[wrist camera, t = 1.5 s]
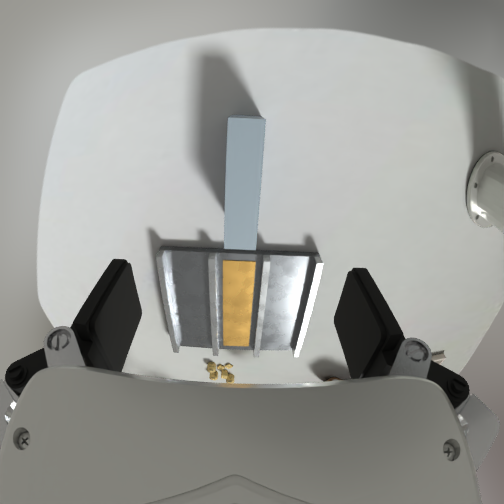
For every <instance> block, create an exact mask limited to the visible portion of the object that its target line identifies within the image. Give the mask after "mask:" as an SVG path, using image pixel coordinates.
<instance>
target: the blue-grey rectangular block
mask: <svg viewBox="0 0 504 504" xmlns="http://www.w3.org/2000/svg"><path fill="white" fill-rule="evenodd" d="M265 124H266V119H264V118H263V117H262V116H247V115H231V116H230V117H228V127H227V150H226V179H225V220H224V249H241V250H256V243H257V230H258V217H259V204H260V191H261V178H262V164H263V151H264V138H265Z"/></svg>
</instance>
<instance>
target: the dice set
mask: <svg viewBox="0 0 504 504" xmlns="http://www.w3.org/2000/svg"><path fill="white" fill-rule="evenodd" d="M225 367H226V368H228V369H230V368H232V367H233V365H231V364H229V363H228V364H227V365H225V366H223V365H221V364H220V365H219V366H218V367H217V368H218V369H220V370H222V369H224V368H225ZM215 369H216V364H215V363H213V362H209V363H208V366H207V370H208V371H209V372H210V377H209V378H210V379H211V380H217V379H218V372H217V371H215ZM221 378H224V379H226V382H227V383H234V375H232V374H228V372H227V370H222V373H221Z"/></svg>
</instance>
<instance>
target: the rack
mask: <svg viewBox="0 0 504 504" xmlns="http://www.w3.org/2000/svg"><path fill="white" fill-rule="evenodd" d="M156 262H157V269H158V275H159V282H160V288H161V293H162V299H163V304H164V310H165V315H166V320H167V325H168V330H169V334H170V339H171V343H172V348H173V352H176V353H178V352H179V347H180V346H189V347H201V348H213V355H214V356H218V350H219V349H239V350H253V354H254V357H259V351H260V350H292V351H293V357H298V356H299V353H300V350H301V346H302V343H303V340H304V336H305V333H306V329H307V326H308V322H309V318H310V315H311V311H312V307H313V303H314V299H315V296H316V292H317V288H318V284H319V280H320V275H321V271H322V267H323V262H322V260H321V257H320V255H319V253H308V252H285V251H262V250H239V249H216V248H192V247H168V246H161V247H160V249H159V251H158V253H157V255H156Z"/></svg>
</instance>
